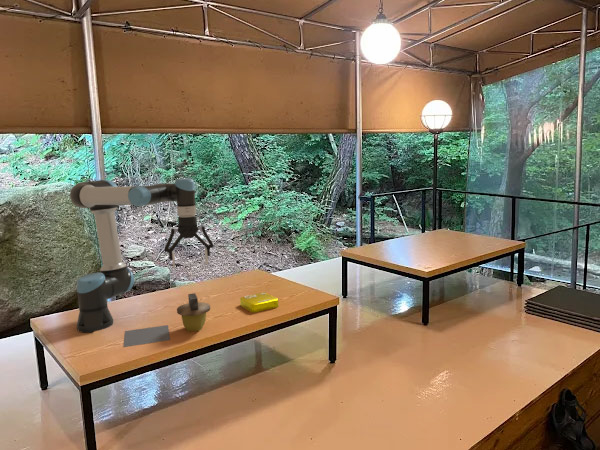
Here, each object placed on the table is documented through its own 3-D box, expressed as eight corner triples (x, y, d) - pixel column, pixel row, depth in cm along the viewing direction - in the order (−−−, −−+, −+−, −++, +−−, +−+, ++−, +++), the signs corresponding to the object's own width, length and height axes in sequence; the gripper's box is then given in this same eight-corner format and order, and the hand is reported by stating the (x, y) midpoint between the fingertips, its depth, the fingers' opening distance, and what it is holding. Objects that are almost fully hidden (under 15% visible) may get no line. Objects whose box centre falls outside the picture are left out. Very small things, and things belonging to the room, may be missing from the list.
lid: (178, 317, 195) (177, 303, 194) (175, 307, 208) (174, 293, 207) (212, 312, 200) (211, 298, 199) (207, 303, 213) (206, 289, 212)
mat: (123, 348, 188) (123, 347, 188) (125, 332, 205) (125, 331, 205) (170, 341, 194) (170, 340, 194) (168, 326, 211) (168, 325, 211)
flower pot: (208, 326, 209) (206, 306, 208) (202, 333, 201) (200, 313, 199) (188, 326, 210) (187, 306, 209) (182, 333, 202) (180, 313, 200)
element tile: (252, 314, 224) (252, 304, 223) (239, 305, 237) (238, 296, 236) (280, 307, 232) (279, 298, 231) (265, 299, 245) (265, 290, 244)
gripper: (156, 219, 190) (160, 270, 194) (218, 214, 198) (221, 264, 201) (155, 217, 197) (159, 266, 201) (215, 212, 205) (218, 260, 208)
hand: (190, 265), depth 201 cm, fingers open, 13 cm apart
